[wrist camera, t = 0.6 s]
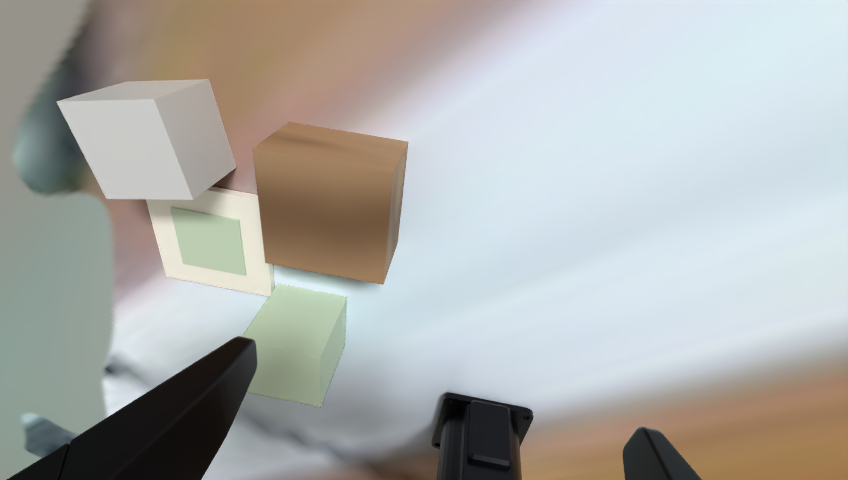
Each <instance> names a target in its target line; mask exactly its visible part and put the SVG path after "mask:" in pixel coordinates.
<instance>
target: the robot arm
mask: <svg viewBox="0 0 848 480" xmlns="http://www.w3.org/2000/svg"><path fill="white" fill-rule="evenodd" d="M256 369H257V349H256V342H255V340H253V339H250V338H246V337H241V336H238V337H235V338H233V339H232V340H230V341H228V342H227V343H225V344H224V345H222V346H220V347H219V348H217V349H216V350H214V351H212V352H211V353H209V354H208V355H206V356H205V357H203V358H201V359H200V360H198V361H197V362H195V363H193V364H192V365H190V366H189V367H187V368H185V369H184V370H182V371H181V372H179V373H177V374H176V375H174V376H173V377H171V378H169V379H168V380H166V381H165V382H163V383H161V384H160V385H158V386H157V387H155V388H154V389H152V390H150V391H149V392H147V393H146V394H144V395H142V396H141V397H139V398H138V399H136V400H134V401H133V402H131V403H130V404H128V405H126V406H125V407H123V408H122V409H120V410H118V411H117V412H115V413H114V414H112V415H111V416H109V417H107V418H106V419H104V420H103V421H101V422H99V423H98V424H96V425H95V426H93V427H91V428H90V429H88V430H87V431H85V432H83V433H82V434H80V435H79V436H77V437H75V438H74V439H72V440H71V442H70V444H69V443H66V444H64V445H62V446H61V447H59V448H58V449H56V450H54V451H53V452H51V453H50V454H48V455H47V456H45V457H43V458H42V459H40V460H38V461H37V462H35V463H33V464H32V465H30V466H28V467H27V468H25V469H23V470H22V471H20V472H19V473H17V474H15V475H14V476H12V477H10V478H9V479H7V480H201V479H202V477H203V476H204V474H205V472H206V470H207V469H208V467H209V465H210V464H211V462H212V460H213V458H214V457H215V455H216V453H217V452H218V450H219V448H220V446H221V445H222V443H223V441H224V439H225V437H226V436H227V434H228V432H229V429H230V427H231V425H232V423H233V421H234V419H235V416H236V414H237V412H238V410H239V408H240V405H241V403H242V401H243V399H244V397H245V394H246V392H247V390H248V388H249V386H250V383H251V381H252V379H253V377H254V375H255V372H256ZM532 420H533V412H532V410H530V409H527V408H522V407H517V406H512V405H508V404H503V403H498V402H493V401H488V400H483V399H478V398H473V397H468V396H463V395H458V394H453V393H447V394H445V395H444V397H443V400H442V404H441V408H440V412H439V416H438V419H437V423H436V427H435V431H434V435H433V439H432V446H433V447H435V448H438V449H440V453H439V462H438V472H437V480H522V475H521V461H520V445H521V443H522V441H523V439H524V437H525V435H526V433H527V431H528V429H529V426H530V424H531V422H532ZM623 464H624V473H625V480H702V479H701V478H700V477H699V476H698V475H697V473H696V472H695V471H694V470H693V469H692V468H691V466H690V465H689V464H688V463H687V462H686V461H685V459H684V458H683V457H682V456H681V455H680V454H679V452H678V451H677V450H676V449H675V448H674V446H673V445H672V444H671V443H670V442H669V441H668V439H667V438H666V437H665V436H664V435H663V434H662V433H661V432H660V431H658V430H656V429H651V428H647V427H639V428H638V429H637V430H636V431H635V432H634V434H633V435H632V436H631V438H630V439H629V441H628V442H627V443H626V445H625V446H624V449H623Z"/></svg>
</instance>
